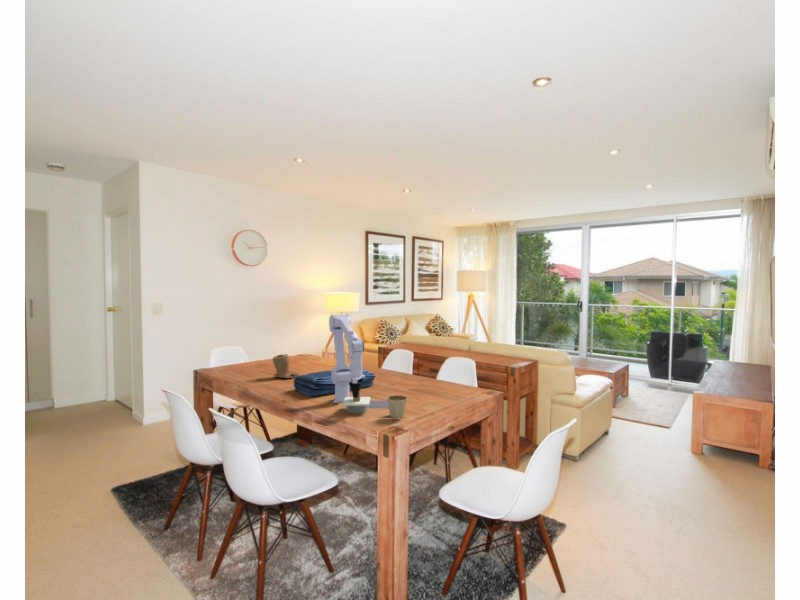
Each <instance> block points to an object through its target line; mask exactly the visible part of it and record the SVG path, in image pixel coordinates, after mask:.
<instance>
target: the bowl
mask: <svg viewBox="0 0 800 600" xmlns="http://www.w3.org/2000/svg"><path fill="white" fill-rule="evenodd" d="M346 412H347V413H349V414H363V413H365V412H367V406H346Z"/></svg>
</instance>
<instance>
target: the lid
mask: <svg viewBox="0 0 800 600" xmlns="http://www.w3.org/2000/svg"><path fill="white" fill-rule="evenodd" d="M370 401H371V396H361V390H360V391H359V395H358V398H353V396H349V397H345V399H344V401H343V402H341V403H342V404H341V405H342V407H347V406H366V407H367V406H369V403H370Z"/></svg>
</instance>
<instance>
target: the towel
mask: <svg viewBox="0 0 800 600" xmlns="http://www.w3.org/2000/svg"><path fill="white" fill-rule="evenodd" d="M337 371H345V370H337ZM331 374H332V370H321V371H315V372H311V373H307V374H301V375H300V374H299V376H297V377H296V378H293V387H294V389H295V391H296V392H298V393H300V394H302V395H303V396H306V395H307V396H306V397H308V398H314V397H313V396H315V397H320V396H319V395H321V396H324V395H325V394H327V395H331V393H333V394H335V384H334V383H333V382H332V379H331ZM362 375H365V377H364V378H363V380H362V383H361V387H360V389H364V388H368V387H367V386H369V387H371V385H372V386H373V385H374V380H375V378H376V375H375V374H374V373H373V372H371V371H369V370H366V369H363V368H362ZM351 382H352V381H351ZM363 387H364V388H363ZM350 390H351V387H350V385H349V391H350ZM351 391H352V390H351ZM325 396H326V395H325Z"/></svg>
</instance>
